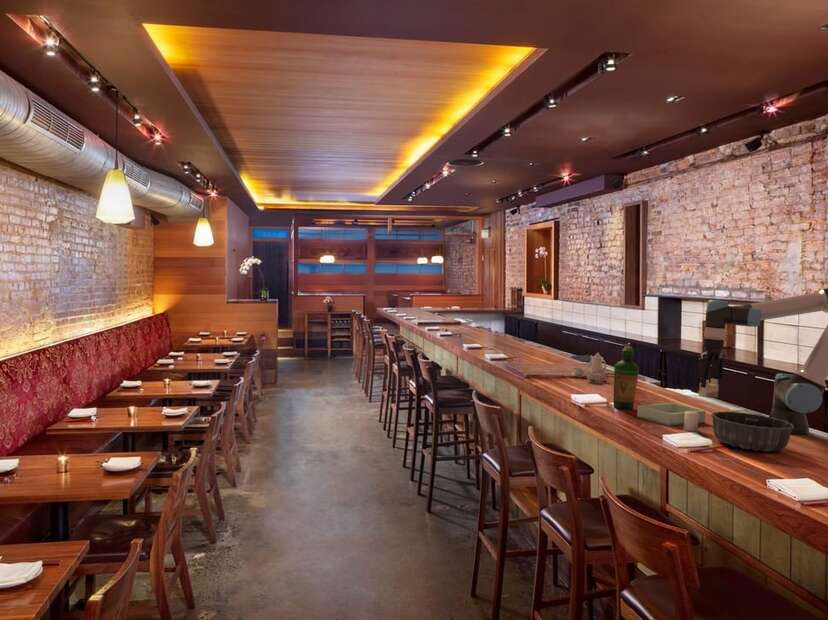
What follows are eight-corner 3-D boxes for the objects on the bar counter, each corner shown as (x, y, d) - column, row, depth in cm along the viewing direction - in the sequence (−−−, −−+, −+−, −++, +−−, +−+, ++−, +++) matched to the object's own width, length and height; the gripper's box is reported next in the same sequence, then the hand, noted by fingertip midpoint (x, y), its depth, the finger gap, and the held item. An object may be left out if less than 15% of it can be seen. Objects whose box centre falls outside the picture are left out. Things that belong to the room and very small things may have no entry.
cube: (717, 397, 247) (718, 385, 247) (709, 397, 245) (710, 385, 244) (706, 394, 251) (707, 382, 251) (698, 395, 249) (699, 383, 249)
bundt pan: (718, 432, 240) (720, 407, 239) (796, 447, 223) (799, 420, 223) (700, 444, 220) (702, 417, 219) (784, 462, 203) (787, 432, 202)
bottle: (620, 411, 270) (624, 348, 268) (606, 405, 280) (610, 345, 278) (640, 410, 272) (645, 348, 271) (626, 405, 283) (631, 345, 281)
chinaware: (566, 378, 364) (565, 350, 363) (590, 375, 369) (590, 348, 367) (592, 387, 337) (592, 357, 336) (618, 384, 342) (618, 355, 341)
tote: (704, 422, 255) (705, 411, 255) (668, 426, 245) (669, 414, 245) (672, 414, 270) (673, 402, 269) (637, 417, 259) (638, 405, 259)
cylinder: (700, 431, 240) (701, 413, 239) (691, 432, 237) (693, 414, 237) (689, 428, 244) (690, 410, 244) (680, 429, 242) (682, 411, 241)
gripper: (719, 337, 254) (714, 392, 255) (691, 336, 245) (685, 394, 247) (736, 339, 247) (730, 396, 249) (707, 339, 239) (702, 398, 240)
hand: (708, 395), depth 248 cm, fingers closed on cube, 5 cm apart
